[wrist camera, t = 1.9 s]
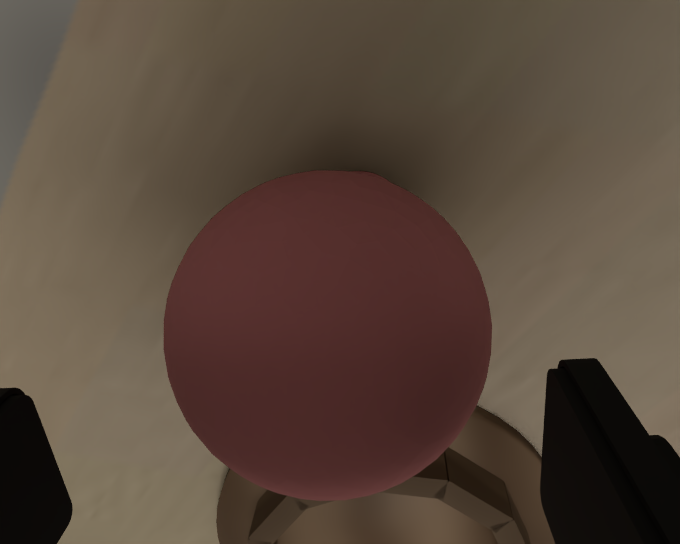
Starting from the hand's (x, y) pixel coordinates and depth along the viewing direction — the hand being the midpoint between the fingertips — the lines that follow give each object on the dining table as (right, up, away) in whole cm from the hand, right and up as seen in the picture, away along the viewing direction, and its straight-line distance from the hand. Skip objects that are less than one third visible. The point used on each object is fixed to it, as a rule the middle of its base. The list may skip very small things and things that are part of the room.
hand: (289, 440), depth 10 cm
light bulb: (+1, +5, +10) cm, 12 cm away
